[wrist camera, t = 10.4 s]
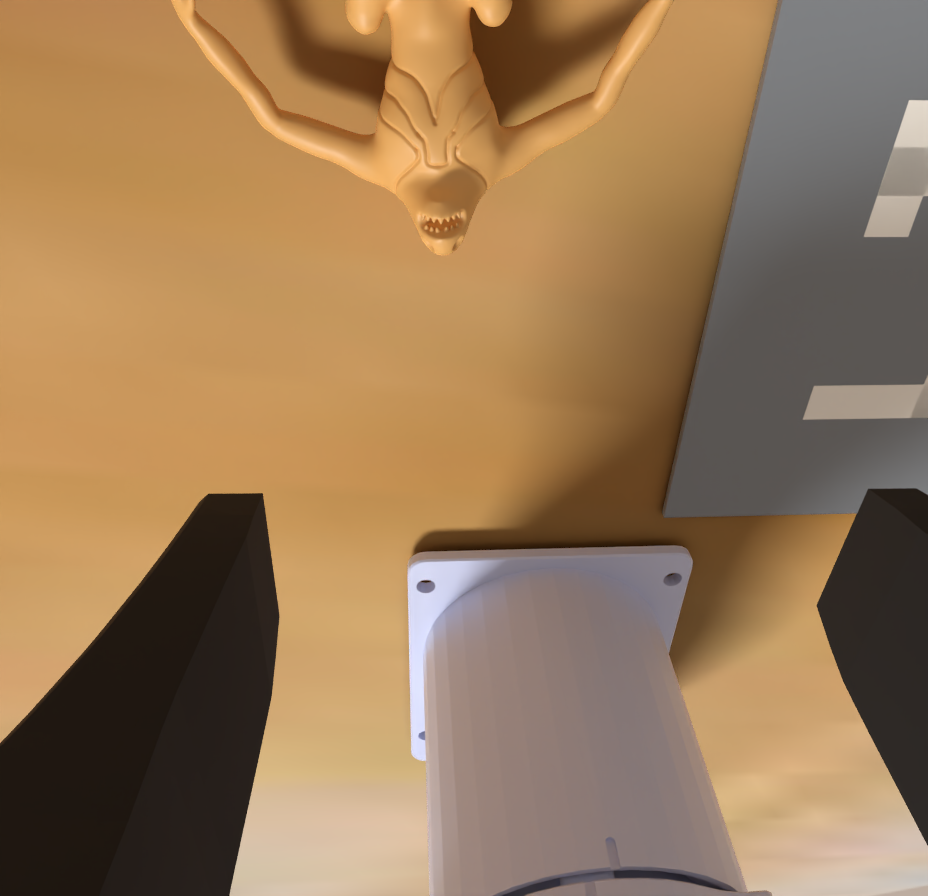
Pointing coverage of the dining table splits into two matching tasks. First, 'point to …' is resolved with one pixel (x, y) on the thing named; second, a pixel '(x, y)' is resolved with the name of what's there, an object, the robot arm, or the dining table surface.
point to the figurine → (432, 108)
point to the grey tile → (819, 278)
